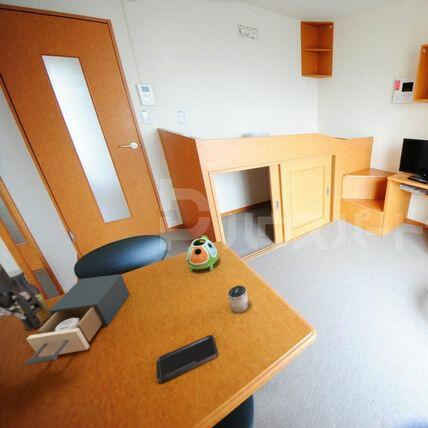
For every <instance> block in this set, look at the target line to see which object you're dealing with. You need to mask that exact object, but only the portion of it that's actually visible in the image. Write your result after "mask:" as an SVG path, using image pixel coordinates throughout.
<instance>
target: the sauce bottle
mask: <svg viewBox="0 0 428 428" xmlns="http://www.w3.org/2000/svg"><path fill="white" fill-rule="evenodd" d="M7 274H8V275H9V276H10V278H11V279H12V283H11V286H10V288H11V290H13V291H14V292H16V293H22V292H23V291H25V290H27V289H28V290H31V291H32V293H33V294H34V295H35V297H36V298H37V299H38V301H39V302H40V303H41V305H42V306H43V308H42V309H41V310H40V311H39V312H37V313H36V315H37V317H38V318H39V320H40V324H39V325H38V326H37V327H36V328H35V329H37V328H38V329H39V328H41V327H42V326H43V325H44V324H45V323H46V322H47V321H48V320H49V319H50V318H51V317H52V315H51V314H50V312H49V310H50V309H51V308H50V306H49V305H48V303H47V301H46V299H45V298H44V296H43V294H42V292H41V291H40V289H39V287H38V286H37V285H36V284H33V283H30V281H29V280H27V278H26V276H25V272H24V271H23V270H22V269H17V270H11V271H8V272H7ZM17 306H18V304H16V303H15V304H14V306H12V309H14V308H16V307H17ZM31 307H33V308H34V306H33V305H32V306H31ZM18 311H20V312H22V313H24V311H23V310H22V308H21V309H19V310H18Z"/></svg>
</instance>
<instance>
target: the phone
mask: <svg viewBox="0 0 428 428" xmlns="http://www.w3.org/2000/svg"><path fill="white" fill-rule="evenodd" d="M218 355H219V353H218V349H217V344H216V341H215V337H214V335H213V334H208V335H206V336H204V337H202V338H200V339H197V340H195V341H193V342H190V343H188V344H185V345H182V346H180V347H179V348H176V349H174V350H172V351H169V352H167V353H164V354H162V355H160V356H159V357H158V358H157V359H156V380H157V382H158V384H164V383H166V382H168V381H170V380H172V379H174V378H177V377H178V376H181V375H183V374H185V373H187V372H189V371H191V370H192V369H195V368H197V367H199V366H202V365H203V364H205V363H208V362H211V360H213V359H216V358H217V357H218Z"/></svg>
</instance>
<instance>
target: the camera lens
mask: <svg viewBox="0 0 428 428" xmlns="http://www.w3.org/2000/svg"><path fill="white" fill-rule="evenodd" d="M227 298H228V303H229V306H230V309H231V311H232V312H233V313H237V314H239V313H242V312H244V311H246V310H247V309H248V307H249V297H248V290H247V288H246V287H245V286H243V285H235V286H233V287H231V288H230V289H229V290H228V292H227Z"/></svg>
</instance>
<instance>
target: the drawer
mask: <svg viewBox="0 0 428 428" xmlns="http://www.w3.org/2000/svg"><path fill="white" fill-rule="evenodd" d="M70 318H80V319H81V320H80V321H79V323H78V324H77V325H76V326H77V327H78V328H75V329H69V330H62V331H55V328H56V327H57V326H58V325H59V324H60V323H61V322H63V321H65V320H67V319H70ZM102 323H103V320H102V318H101V316H100V314H99V312H98V311H97V309H96V307H95V306H93V307H86V308H79V309H72V310H64V311H57V312H56V313H55V314H54V315H53V316H52V317H51V318H50V319H49V320H48V321H47V322H46V323H45V324H44V325H42V326H40V327H39V328H38V330H37V334H36V333H35V334H30V335H29V336H28V337H27V338H26V341H27V342H28V343H29V345H30V346H31V348H32V349H33V351H34V354H33V355H32V356H31V357H30V358H27V359H26V360H25V366H30V365H35V364H36V365H37V364H40V363H47V362H51V361H56V360H57V359H58V357H59V355H64V354H71V353H75V352H76V353H77V352H82V351H88V349H89V348H90V344H89V343H90V342H91V340H92V339H93V337H95V335H96V333H97V332H98V330H99V329H100V328H101V327H100V326H101V325H102Z"/></svg>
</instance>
